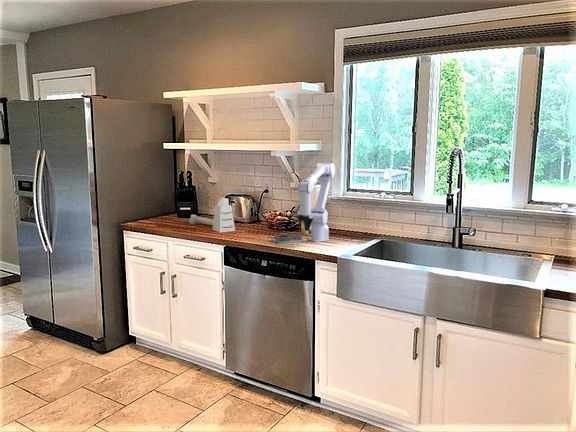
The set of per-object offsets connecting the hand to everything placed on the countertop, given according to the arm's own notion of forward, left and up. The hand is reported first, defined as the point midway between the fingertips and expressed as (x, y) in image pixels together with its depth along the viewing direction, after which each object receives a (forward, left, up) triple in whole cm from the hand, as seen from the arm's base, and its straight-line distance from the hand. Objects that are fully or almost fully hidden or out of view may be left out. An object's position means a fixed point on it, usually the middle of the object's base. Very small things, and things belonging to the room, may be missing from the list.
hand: (305, 229), depth 254 cm
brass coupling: (0, 0, -2) cm, 2 cm away
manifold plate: (+3, -14, -8) cm, 16 cm away
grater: (+27, -60, -9) cm, 66 cm away
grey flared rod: (+33, -83, -9) cm, 90 cm away
